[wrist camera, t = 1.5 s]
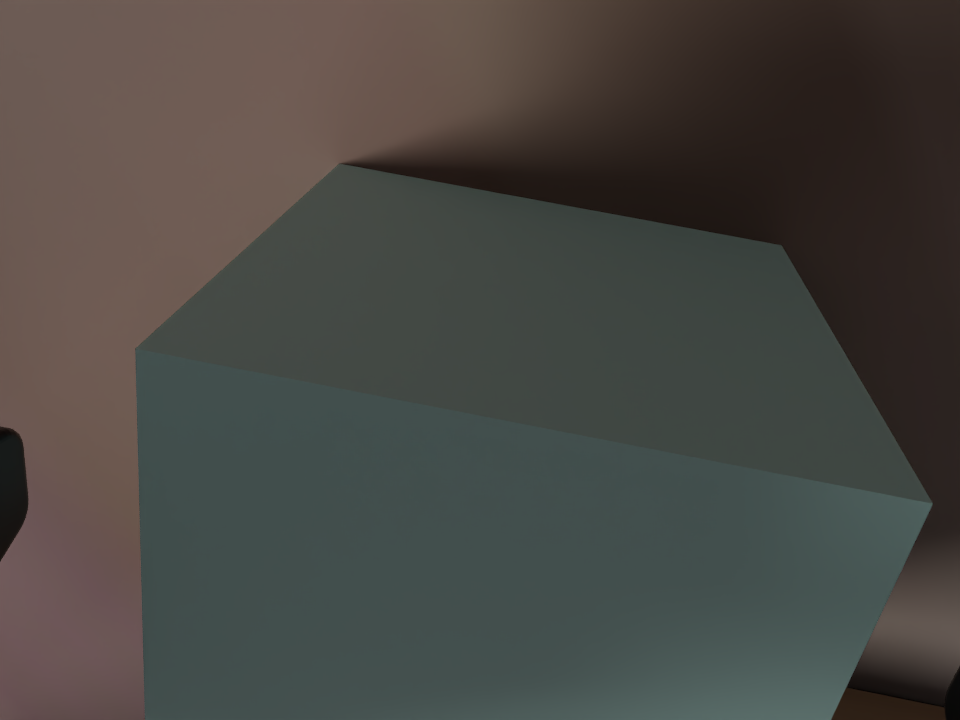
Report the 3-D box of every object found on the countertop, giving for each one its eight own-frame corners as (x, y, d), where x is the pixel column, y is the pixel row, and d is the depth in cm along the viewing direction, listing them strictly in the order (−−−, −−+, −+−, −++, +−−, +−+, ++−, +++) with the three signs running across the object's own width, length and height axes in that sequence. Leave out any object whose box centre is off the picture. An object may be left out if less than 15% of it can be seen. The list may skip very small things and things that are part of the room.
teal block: (668, 587, 12) (711, 973, 8) (311, 515, 12) (148, 851, 8) (779, 243, 10) (931, 503, 5) (341, 162, 10) (134, 348, 6)
